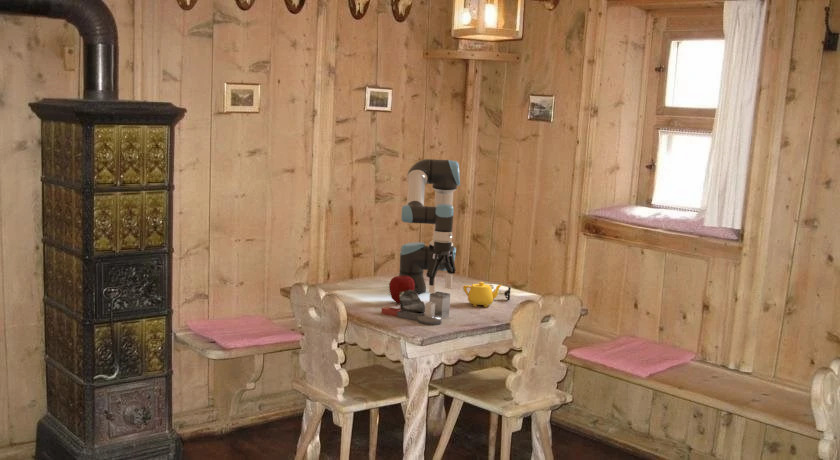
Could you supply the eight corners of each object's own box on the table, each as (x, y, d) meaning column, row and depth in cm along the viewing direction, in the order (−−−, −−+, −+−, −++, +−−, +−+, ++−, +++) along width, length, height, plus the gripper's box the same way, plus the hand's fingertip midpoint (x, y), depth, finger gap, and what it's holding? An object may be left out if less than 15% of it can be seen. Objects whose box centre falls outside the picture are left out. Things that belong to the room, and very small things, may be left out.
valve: (483, 300, 399) (509, 302, 398) (484, 286, 399) (510, 288, 397) (484, 297, 406) (510, 299, 404) (485, 283, 405) (510, 285, 403)
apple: (402, 299, 392) (403, 270, 390) (419, 303, 384) (421, 275, 382) (382, 302, 384) (384, 273, 382) (400, 307, 376) (401, 277, 374)
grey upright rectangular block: (428, 316, 361) (429, 293, 360) (436, 314, 366) (437, 291, 365) (441, 319, 358) (442, 296, 356) (449, 316, 363) (450, 293, 362)
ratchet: (377, 314, 360) (378, 296, 358) (390, 310, 368) (391, 292, 367) (433, 326, 345) (434, 307, 344) (445, 322, 353) (446, 303, 352)
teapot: (500, 303, 393) (502, 281, 392) (501, 309, 382) (503, 285, 381) (462, 301, 394) (463, 278, 392) (462, 306, 383) (463, 283, 381)
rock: (400, 307, 376) (398, 286, 373) (424, 305, 377) (422, 284, 373) (401, 321, 363) (399, 300, 359) (427, 319, 363) (425, 298, 360)
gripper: (435, 244, 345) (432, 296, 348) (465, 239, 366) (462, 287, 369) (419, 242, 349) (417, 293, 351) (450, 237, 370) (447, 285, 372)
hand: (440, 290), depth 360 cm, fingers open, 13 cm apart
